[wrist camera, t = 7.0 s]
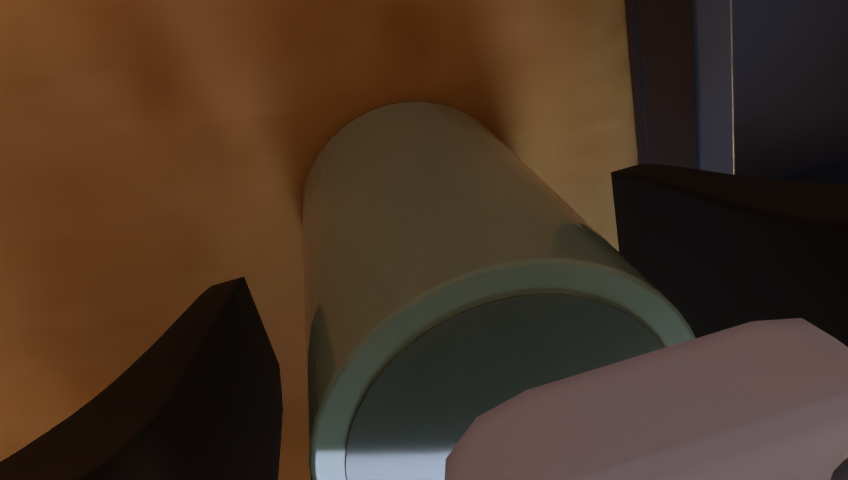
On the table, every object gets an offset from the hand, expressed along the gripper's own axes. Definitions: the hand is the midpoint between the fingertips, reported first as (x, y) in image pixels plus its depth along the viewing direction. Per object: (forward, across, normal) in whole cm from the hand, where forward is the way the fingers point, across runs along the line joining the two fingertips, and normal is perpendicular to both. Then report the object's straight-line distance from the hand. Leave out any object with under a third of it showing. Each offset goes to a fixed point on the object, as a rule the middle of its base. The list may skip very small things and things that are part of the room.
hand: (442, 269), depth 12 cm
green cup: (+3, 0, 0) cm, 3 cm away
